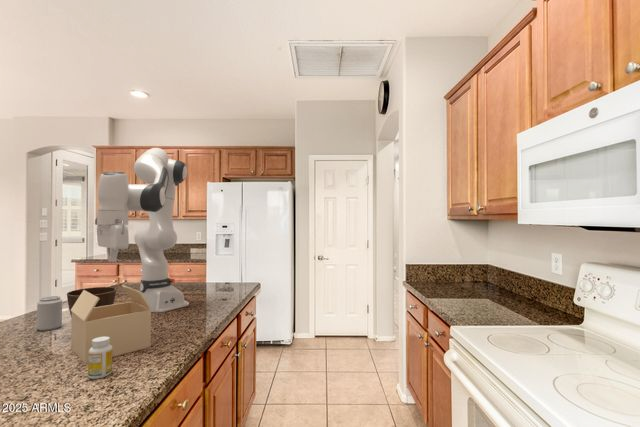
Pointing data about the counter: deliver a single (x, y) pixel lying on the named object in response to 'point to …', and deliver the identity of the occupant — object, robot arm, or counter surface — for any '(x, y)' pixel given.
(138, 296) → the flap
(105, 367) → the supplement bottle
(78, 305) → the flap
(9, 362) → the counter surface
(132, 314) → the carton
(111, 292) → the plant pot
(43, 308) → the can
